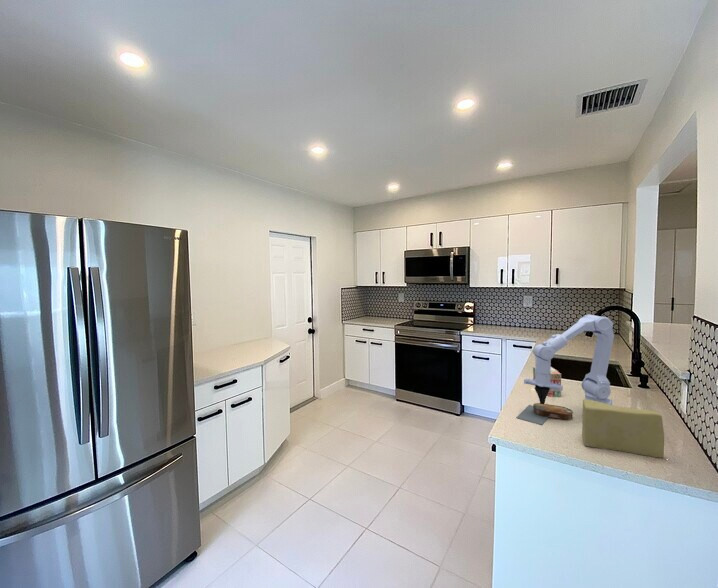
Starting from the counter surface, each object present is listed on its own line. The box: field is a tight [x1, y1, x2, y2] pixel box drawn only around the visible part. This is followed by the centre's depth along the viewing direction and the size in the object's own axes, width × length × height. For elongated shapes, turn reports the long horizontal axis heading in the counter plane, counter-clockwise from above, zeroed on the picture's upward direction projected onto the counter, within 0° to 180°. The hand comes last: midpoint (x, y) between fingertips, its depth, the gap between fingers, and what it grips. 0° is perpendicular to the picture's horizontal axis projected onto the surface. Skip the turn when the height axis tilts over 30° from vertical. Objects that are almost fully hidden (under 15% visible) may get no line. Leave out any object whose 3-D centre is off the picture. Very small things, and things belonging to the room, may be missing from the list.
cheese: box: [581, 398, 665, 459], centre depth 112 cm, size 22×10×15 cm, turn 58°
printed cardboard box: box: [532, 366, 562, 398], centre depth 170 cm, size 21×6×12 cm, turn 169°
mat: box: [516, 404, 549, 426], centre depth 140 cm, size 10×18×1 cm, turn 136°
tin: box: [532, 402, 574, 421], centre depth 139 cm, size 15×3×8 cm
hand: (542, 403), depth 138 cm, fingers closed
